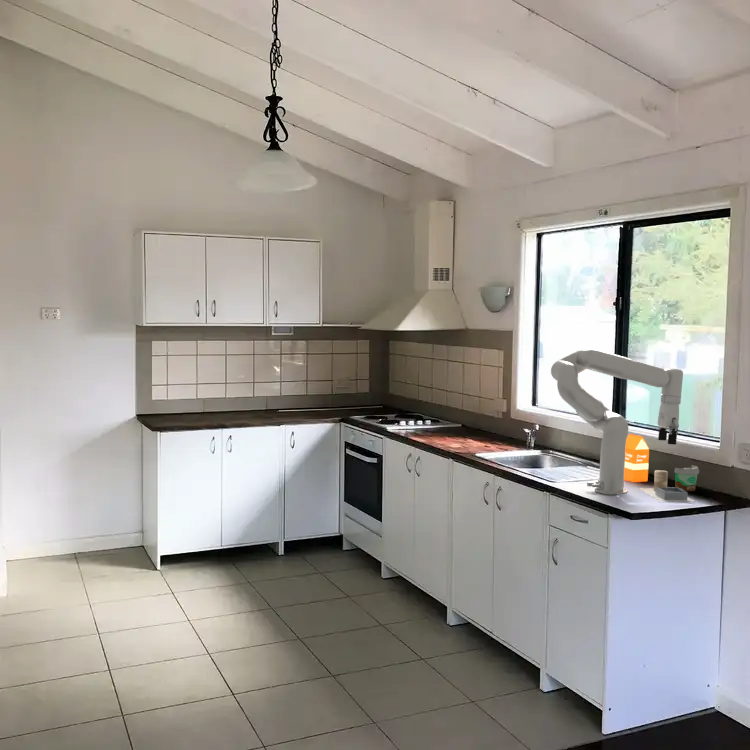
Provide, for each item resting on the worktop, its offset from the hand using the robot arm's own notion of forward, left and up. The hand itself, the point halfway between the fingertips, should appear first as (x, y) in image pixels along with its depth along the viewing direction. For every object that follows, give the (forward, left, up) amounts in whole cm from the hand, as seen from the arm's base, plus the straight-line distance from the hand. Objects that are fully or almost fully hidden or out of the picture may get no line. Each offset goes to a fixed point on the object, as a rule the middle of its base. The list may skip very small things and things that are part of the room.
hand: (666, 442), depth 330 cm
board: (-2, -6, -21) cm, 22 cm away
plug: (-2, 0, -20) cm, 20 cm away
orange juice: (-5, +22, -21) cm, 31 cm away
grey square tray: (-2, -11, -21) cm, 23 cm away
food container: (+11, +3, -21) cm, 24 cm away
